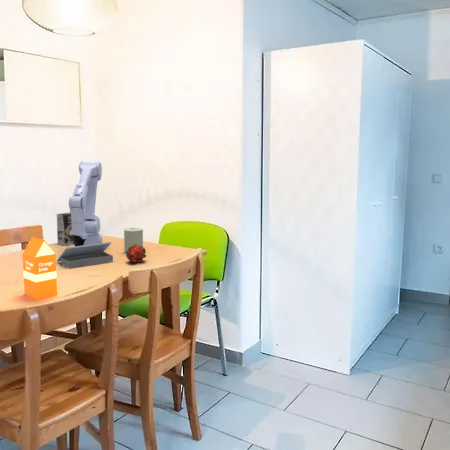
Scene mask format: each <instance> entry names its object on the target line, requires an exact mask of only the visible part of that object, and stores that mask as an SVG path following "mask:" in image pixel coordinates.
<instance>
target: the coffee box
mask: <svg viewBox="0 0 450 450" xmlns="http://www.w3.org/2000/svg"><path fill="white" fill-rule="evenodd" d="M56 228H57V229H56V231H57V233H56V234H57V245H60V246H65V247H66V246H72V245H74V243H73V241H72V239H71V237H74V235H70V234H69V233H70V230H72V222H71V213H70V212H65V213H63V212H62V213H56Z"/></svg>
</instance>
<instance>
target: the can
mask: <svg viewBox="0 0 450 450" xmlns="http://www.w3.org/2000/svg"><path fill="white" fill-rule="evenodd" d="M143 233H144V229H143V228H140V227H129V228H128V227H127V228H124V229H123V237H124V239H123V240H124V241H123V243H124V246H123V248H124V252H123V253H124V254H125V255H126V252H127V250H128V249H129V247H131V246H134V245H135V244H136V245H138V246H139V245H141V246H142V247H144V234H143Z"/></svg>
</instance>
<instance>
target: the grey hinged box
mask: <svg viewBox="0 0 450 450" xmlns="http://www.w3.org/2000/svg"><path fill="white" fill-rule="evenodd" d="M60 262H61V265H62V266H63V267H66V268H67V269H76V268H83V267H89V266H95V265H102V264H108V263H109V262H110V263H113V262H114V255H113V254H110V253H108V252H106V251H104V252H100V253H92V254H85V255H78V256H70V257H63V258H61V261H60Z"/></svg>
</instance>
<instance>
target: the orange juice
mask: <svg viewBox="0 0 450 450" xmlns="http://www.w3.org/2000/svg"><path fill="white" fill-rule="evenodd" d="M21 254H22V269H23V271H22V272H23V273H22V274H23V286H24V287H23V289H24V290H23V291H24V295H25V294H27V295H26V296H28V295H29V296H28V297H30V296H31V297H30V298H32V297H33V298H32V299H35V300H41V299H44V298H49V297H54V296H57V295H58V283H57V280H58V279H57V262H56V261H57V260H56V252H54V250H53V249H52V248H51V247H50V245H49V244H48V242H47V241H46V240H45V239H43V238H39V237H36V236H31V239H30V240H29V242H28V244H27V245H26V248H25V249H24V251H23V252H22V253H21Z"/></svg>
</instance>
